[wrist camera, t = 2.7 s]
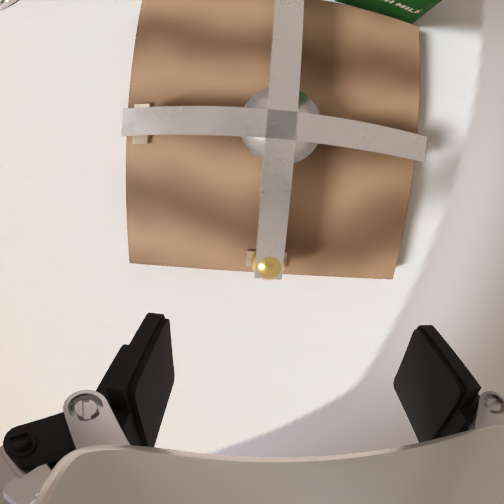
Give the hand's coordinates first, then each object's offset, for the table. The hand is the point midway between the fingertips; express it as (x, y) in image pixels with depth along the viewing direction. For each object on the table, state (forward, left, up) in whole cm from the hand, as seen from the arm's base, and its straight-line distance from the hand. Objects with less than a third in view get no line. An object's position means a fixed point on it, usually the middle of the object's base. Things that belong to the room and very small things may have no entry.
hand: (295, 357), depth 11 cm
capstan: (-8, 0, -13) cm, 16 cm away
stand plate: (-8, 0, -15) cm, 17 cm away
